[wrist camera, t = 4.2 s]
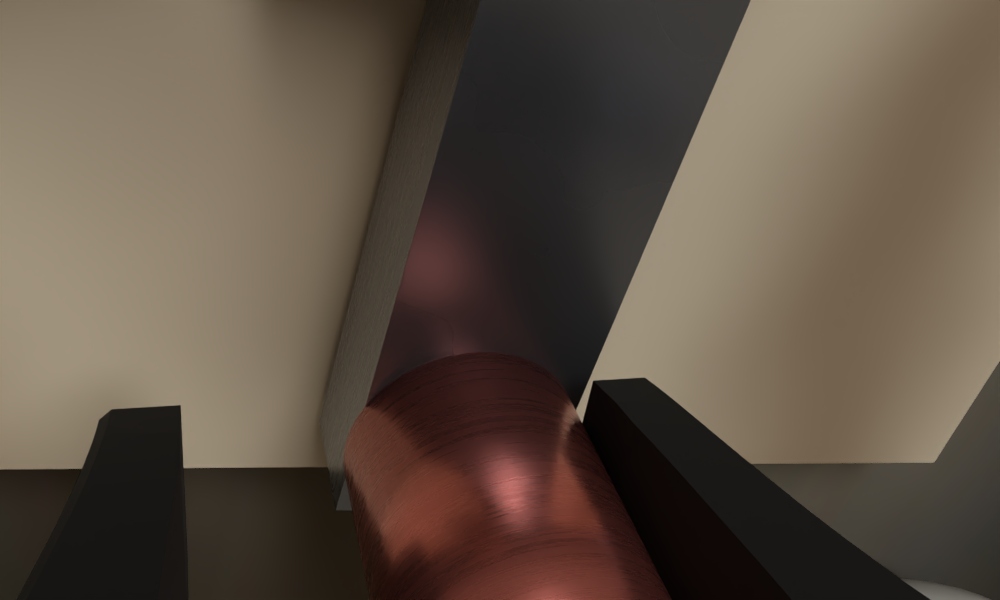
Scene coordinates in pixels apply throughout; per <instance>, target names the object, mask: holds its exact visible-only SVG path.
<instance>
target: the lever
mask: <svg viewBox="0 0 1000 600" xmlns="http://www.w3.org/2000/svg"><path fill="white" fill-rule="evenodd" d="M750 1H751V0H426V4H425V8H424V12H423V16H422V20H421V24H420V28H419V32H418V36H417V40H416V43H415V47H414V51H413V55H412V59H411V63H410V67H409V71H408V75H407V79H406V83H405V87H404V91H403V94H402V98H401V102H400V106H399V110H398V114H397V118H396V122H395V126H394V130H393V134H392V138H391V141H390V145H389V149H388V153H387V157H386V161H385V165H384V169H383V173H382V177H381V181H380V185H379V188H378V192H377V196H376V200H375V204H374V208H373V212H372V216H371V220H370V224H369V228H368V232H367V236H366V239H365V243H364V247H363V251H362V255H361V259H360V263H359V267H358V271H357V275H356V279H355V283H354V286H353V290H352V294H351V298H350V302H349V306H348V310H347V314H346V318H345V322H344V326H343V330H342V334H341V337H340V341H339V345H338V349H337V353H336V357H335V361H334V365H333V369H332V373H331V377H330V381H329V384H328V388H327V392H326V396H325V400H324V404H323V408H322V412H321V416H320V420H319V421H320V427H321V432H322V438H323V443H324V449H325V454H326V459H327V465H328V470H329V476H330V481H331V486H332V492H333V497H334V503H335V508H336V510H352V513H353V518H354V523H355V528H356V533H357V538H358V543H359V547H360V552H361V557H362V562H363V567H364V572H365V577H366V582H367V587H368V592H369V597H370V600H672V599H671V597H670V595H669V593H668V591H667V589H666V587H665V585H664V583H663V581H662V580H661V578H660V576H659V574H658V572H657V570H656V568H655V566H654V564H653V562H652V560H651V558H650V556H649V554H648V552H647V550H646V548H645V546H644V544H643V542H642V540H641V538H640V536H639V534H638V532H637V530H636V528H635V526H634V524H633V522H632V520H631V518H630V516H629V514H628V512H627V510H626V508H625V506H624V505H623V503H622V501H621V499H620V497H619V495H618V493H617V491H616V489H615V487H614V485H613V483H612V481H611V479H610V477H609V475H608V473H607V471H606V469H605V467H604V465H603V463H602V461H601V459H600V457H599V455H598V453H597V451H596V449H595V447H594V445H593V443H592V441H591V439H590V437H589V435H588V433H587V431H586V430H585V428H584V426H583V424H582V422H581V420H580V418H579V416H578V414H577V412H576V409H577V407H578V405H579V402H580V400H581V398H582V395H583V393H584V391H585V388H586V386H587V384H588V381H589V379H590V377H591V374H592V372H593V369H594V367H595V365H596V362H597V360H598V358H599V355H600V353H601V351H602V348H603V346H604V344H605V341H606V339H607V337H608V334H609V332H610V330H611V327H612V325H613V323H614V320H615V318H616V316H617V313H618V311H619V308H620V306H621V304H622V301H623V299H624V297H625V294H626V292H627V290H628V287H629V285H630V283H631V280H632V278H633V276H634V273H635V271H636V269H637V266H638V264H639V262H640V259H641V257H642V254H643V252H644V250H645V247H646V245H647V243H648V240H649V238H650V236H651V233H652V231H653V229H654V226H655V224H656V222H657V219H658V217H659V215H660V212H661V210H662V208H663V205H664V203H665V200H666V198H667V196H668V193H669V191H670V189H671V186H672V184H673V182H674V179H675V177H676V175H677V172H678V170H679V168H680V165H681V163H682V161H683V158H684V156H685V154H686V151H687V149H688V147H689V144H690V142H691V139H692V137H693V135H694V132H695V130H696V128H697V125H698V123H699V121H700V118H701V116H702V114H703V111H704V109H705V107H706V104H707V102H708V100H709V97H710V95H711V93H712V90H713V88H714V85H715V83H716V81H717V78H718V76H719V74H720V71H721V69H722V67H723V64H724V62H725V60H726V57H727V55H728V53H729V50H730V48H731V46H732V43H733V41H734V39H735V36H736V34H737V31H738V29H739V27H740V24H741V22H742V20H743V17H744V15H745V13H746V10H747V8H748V6H749V3H750Z"/></svg>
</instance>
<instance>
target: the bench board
mask: <svg viewBox="0 0 1000 600" xmlns="http://www.w3.org/2000/svg"><path fill="white" fill-rule="evenodd" d="M425 4H426V0H0V469H82V467H83V465H84V463H85V460H86V457H87V455H88V452H89V449H90V447H91V444H92V441H93V438H94V435H95V432H96V429H97V425H98V422H99V419H100V418H102V417H103V416H104V415H105V414H106V413H108V412H109V411H110V410H111V409H124V408H141V407H158V406H175V405H181V422H182V444H183V466H184V468H257V467H328V465H327V459H326V454H325V449H324V443H323V438H322V432H321V427H320V421H319V420H320V416H321V412H322V408H323V404H324V400H325V396H326V392H327V388H328V384H329V381H330V377H331V373H332V369H333V365H334V361H335V357H336V353H337V349H338V345H339V341H340V337H341V334H342V330H343V326H344V322H345V318H346V314H347V310H348V306H349V302H350V298H351V294H352V290H353V286H354V283H355V279H356V275H357V271H358V267H359V263H360V259H361V255H362V251H363V247H364V243H365V239H366V236H367V232H368V228H369V224H370V220H371V216H372V212H373V208H374V204H375V200H376V196H377V192H378V188H379V185H380V181H381V177H382V173H383V169H384V165H385V161H386V157H387V153H388V149H389V145H390V141H391V138H392V134H393V130H394V126H395V122H396V118H397V114H398V110H399V106H400V102H401V98H402V94H403V91H404V87H405V83H406V79H407V75H408V71H409V67H410V63H411V59H412V55H413V51H414V47H415V43H416V40H417V36H418V32H419V28H420V24H421V20H422V16H423V12H424V8H425ZM999 361H1000V0H751V1H750V3H749V6H748V8H747V10H746V13H745V15H744V17H743V20H742V22H741V24H740V27H739V29H738V31H737V34H736V36H735V39H734V41H733V43H732V46H731V48H730V50H729V53H728V55H727V57H726V60H725V62H724V64H723V67H722V69H721V71H720V74H719V76H718V78H717V81H716V83H715V85H714V88H713V90H712V93H711V95H710V97H709V100H708V102H707V104H706V107H705V109H704V111H703V114H702V116H701V118H700V121H699V123H698V125H697V128H696V130H695V132H694V135H693V137H692V139H691V142H690V144H689V147H688V149H687V151H686V154H685V156H684V158H683V161H682V163H681V165H680V168H679V170H678V172H677V175H676V177H675V179H674V182H673V184H672V186H671V189H670V191H669V193H668V196H667V198H666V200H665V203H664V205H663V208H662V210H661V212H660V215H659V217H658V219H657V222H656V224H655V226H654V229H653V231H652V233H651V236H650V238H649V240H648V243H647V245H646V247H645V250H644V252H643V254H642V257H641V259H640V262H639V264H638V266H637V269H636V271H635V273H634V276H633V278H632V280H631V283H630V285H629V287H628V290H627V292H626V294H625V297H624V299H623V301H622V304H621V306H620V308H619V311H618V313H617V316H616V318H615V320H614V323H613V325H612V327H611V330H610V332H609V334H608V337H607V339H606V341H605V344H604V346H603V348H602V351H601V353H600V355H599V358H598V360H597V362H596V365H595V367H594V369H593V372H592V374H591V377H590V379H589V381H588V384H587V386H586V388H585V391H584V393H583V395H582V398H581V400H580V402H579V405H578V407H577V409H576V412H577V414H578V416H579V418H580V420H581V422H583V418H584V414H585V411H586V407H587V403H588V399H589V395H590V391H591V387H592V383H593V381H595V380H612V379H628V378H646V379H648V380H649V381H650V382H652V383H653V384H654V385H655V386H657V387H658V388H659V389H661V390H662V391H663V392H664V393H666V394H667V395H668V396H669V397H671V398H672V399H673V400H674V401H676V402H677V403H678V404H679V405H681V406H682V407H683V408H684V409H685V410H687V411H688V412H689V413H690V414H691V415H693V416H694V417H695V418H696V419H697V420H699V421H700V422H701V423H702V424H703V425H705V426H706V427H707V428H708V429H709V430H711V431H712V432H713V433H714V434H715V435H717V436H718V437H719V438H720V439H721V440H723V441H724V442H725V443H726V444H727V445H729V446H730V447H731V448H732V449H733V450H735V451H736V452H737V453H738V454H739V455H741V456H742V457H743V458H744V459H745V460H747V461H748V462H749V463H750V464H797V463H932V462H935V460H936V459H937V457H938V456H939V454H940V452H941V451H942V449H943V448H944V446H945V445H946V443H947V442H948V440H949V439H950V437H951V435H952V434H953V432H954V431H955V429H956V428H957V426H958V425H959V423H960V421H961V420H962V418H963V417H964V415H965V414H966V412H967V411H968V409H969V408H970V406H971V404H972V403H973V401H974V400H975V398H976V397H977V395H978V394H979V392H980V391H981V389H982V387H983V386H984V384H985V383H986V381H987V380H988V378H989V377H990V375H991V373H992V372H993V370H994V369H995V367H996V366H997V364H998V363H999Z"/></svg>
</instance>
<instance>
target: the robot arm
mask: <svg viewBox="0 0 1000 600" xmlns="http://www.w3.org/2000/svg"><path fill="white" fill-rule="evenodd" d="M582 424H583V426H584V428H585V430H586V431H587V433H588V435H589V437H590V439H591V441H592V443H593V445H594V447H595V449H596V451H597V453H598V455H599V457H600V459H601V461H602V463H603V465H604V467H605V469H606V471H607V473H608V475H609V477H610V479H611V481H612V483H613V485H614V487H615V489H616V491H617V493H618V495H619V497H620V499H621V501H622V503H623V505H624V506H625V508H626V510H627V512H628V514H629V516H630V518H631V520H632V522H633V524H634V526H635V528H636V530H637V532H638V534H639V536H640V538H641V540H642V542H643V544H644V546H645V548H646V550H647V552H648V554H649V556H650V558H651V560H652V562H653V564H654V566H655V568H656V570H657V572H658V574H659V576H660V578H661V580H662V581H663V583H664V585H665V587H666V589H667V591H668V593H669V595H670V597H671V599H672V600H931V599H929V598H928V597H926V596H925V595H923V594H922V593H920V592H919V591H917V590H916V589H914V588H913V587H911V586H910V585H909V584H907V583H906V582H904V581H903V580H901V579H900V578H899V577H897V576H896V575H894V574H893V573H892V572H890V571H889V570H888V569H886V568H885V567H883V566H882V565H881V564H879V563H878V562H877V561H875V560H874V559H872V558H871V557H870V556H868V555H867V554H866V553H864V552H863V551H861V550H860V549H859V548H857V547H856V546H855V545H853V544H852V543H850V542H849V541H848V540H846V539H845V538H844V537H842V536H841V535H840V534H838V533H837V532H836V531H835V530H833V529H832V528H831V527H829V526H828V525H827V524H825V523H824V522H823V521H821V520H820V519H819V518H818V517H816V516H815V515H814V514H812V513H811V512H810V511H809V510H807V509H806V508H805V507H804V506H802V505H801V504H800V503H798V502H797V501H796V500H795V499H793V498H792V497H791V496H790V495H788V494H787V493H786V492H785V491H783V490H782V489H781V488H780V487H778V486H777V485H776V484H775V483H774V482H772V481H771V480H770V479H769V478H767V477H766V476H765V475H764V474H762V473H761V472H760V471H759V470H758V469H756V468H755V467H754V466H753V465H752V464H750V463H749V462H748V461H747V460H745V459H744V458H743V457H742V456H741V455H739V454H738V453H737V452H736V451H735V450H733V449H732V448H731V447H730V446H729V445H727V444H726V443H725V442H724V441H723V440H721V439H720V438H719V437H718V436H717V435H715V434H714V433H713V432H712V431H711V430H709V429H708V428H707V427H706V426H705V425H703V424H702V423H701V422H700V421H699V420H697V419H696V418H695V417H694V416H693V415H691V414H690V413H689V412H688V411H687V410H685V409H684V408H683V407H682V406H681V405H679V404H678V403H677V402H676V401H674V400H673V399H672V398H671V397H669V396H668V395H667V394H666V393H664V392H663V391H662V390H661V389H659V388H658V387H657V386H655V385H654V384H653V383H652V382H650V381H649V380H648V379H646V378H628V379H612V380H595V381H593V383H592V387H591V391H590V395H589V399H588V403H587V407H586V411H585V414H584V418H583V422H582ZM17 600H188V558H187V533H186V511H185V489H184V466H183V444H182V422H181V405H175V406H158V407H141V408H124V409H111V410H110V411H109V412H108V413H106V414H105V415H104V416H103V417H102V418H100V419H99V422H98V425H97V429H96V432H95V435H94V438H93V441H92V444H91V447H90V449H89V452H88V455H87V457H86V460H85V463H84V465H83V467H82V470H81V472H80V475H79V477H78V479H77V482H76V484H75V486H74V488H73V491H72V493H71V495H70V497H69V499H68V501H67V503H66V505H65V508H64V510H63V512H62V514H61V516H60V518H59V520H58V522H57V525H56V527H55V529H54V530H53V532H52V534H51V536H50V538H49V540H48V542H47V544H46V546H45V547H44V549H43V551H42V553H41V555H40V557H39V559H38V561H37V562H36V564H35V566H34V568H33V570H32V572H31V574H30V576H29V578H28V579H27V581H26V583H25V585H24V587H23V589H22V591H21V593H20V594H19V596H18V598H17Z"/></svg>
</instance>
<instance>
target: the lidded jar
mask: <svg viewBox="0 0 1000 600" xmlns="http://www.w3.org/2000/svg"><path fill="white" fill-rule="evenodd" d="M900 579H901V580H903V581H904V582H906V583H907V584H909V585H910V586H911V587H913V588H914V589H916V590H917V591H919V592H920V593H922V594H923V595H925V596H926V597H928V598H929V599H931V600H991V599H989V598H986V597H984V596H981V595H978V594H975V593H972V592H969V591H966V590H963V589H960V588H956V587H952V586H947V585H943V584H939V583H934V582H928V581H920V580H912V579H903V578H900Z"/></svg>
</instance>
